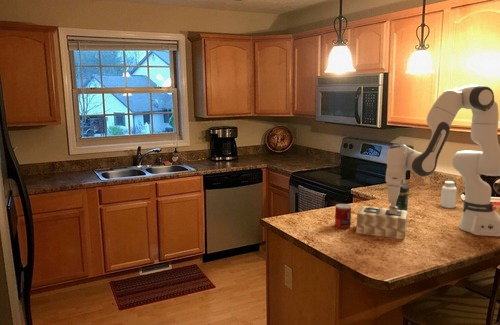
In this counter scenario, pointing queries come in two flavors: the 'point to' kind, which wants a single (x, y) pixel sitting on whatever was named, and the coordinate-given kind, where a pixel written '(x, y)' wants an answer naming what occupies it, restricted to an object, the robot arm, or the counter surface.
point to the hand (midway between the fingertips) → (393, 206)
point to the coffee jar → (403, 197)
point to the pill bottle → (448, 195)
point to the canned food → (343, 216)
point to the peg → (393, 210)
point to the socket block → (381, 222)
